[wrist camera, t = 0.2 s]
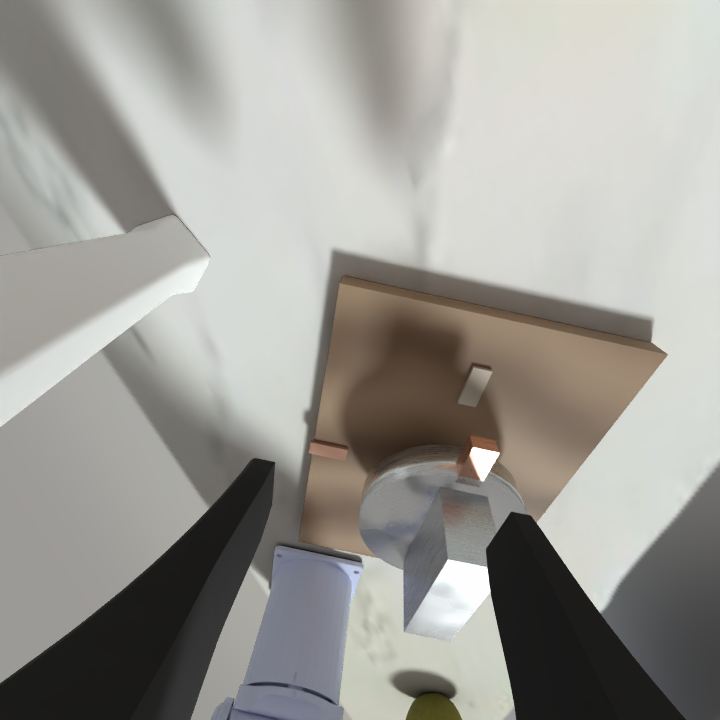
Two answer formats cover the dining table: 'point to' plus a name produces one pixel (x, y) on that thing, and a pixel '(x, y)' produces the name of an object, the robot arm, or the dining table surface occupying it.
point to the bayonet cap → (438, 527)
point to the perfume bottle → (84, 301)
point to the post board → (458, 396)
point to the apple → (433, 708)
